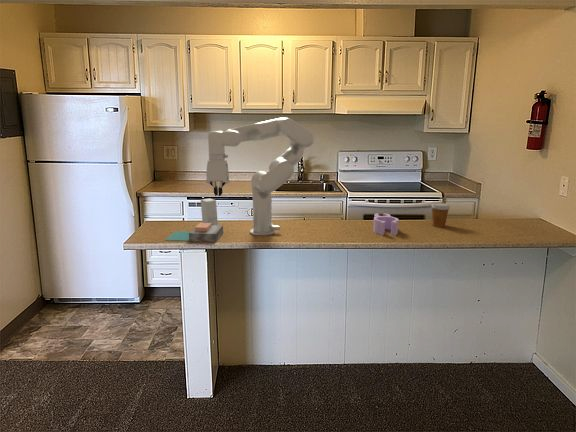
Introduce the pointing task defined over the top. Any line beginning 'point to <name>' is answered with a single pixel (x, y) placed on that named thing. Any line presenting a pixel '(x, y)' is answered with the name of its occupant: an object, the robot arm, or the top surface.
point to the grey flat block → (207, 234)
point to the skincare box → (209, 211)
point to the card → (203, 227)
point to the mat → (179, 236)
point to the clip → (385, 224)
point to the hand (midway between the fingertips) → (218, 195)
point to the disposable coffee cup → (439, 214)
